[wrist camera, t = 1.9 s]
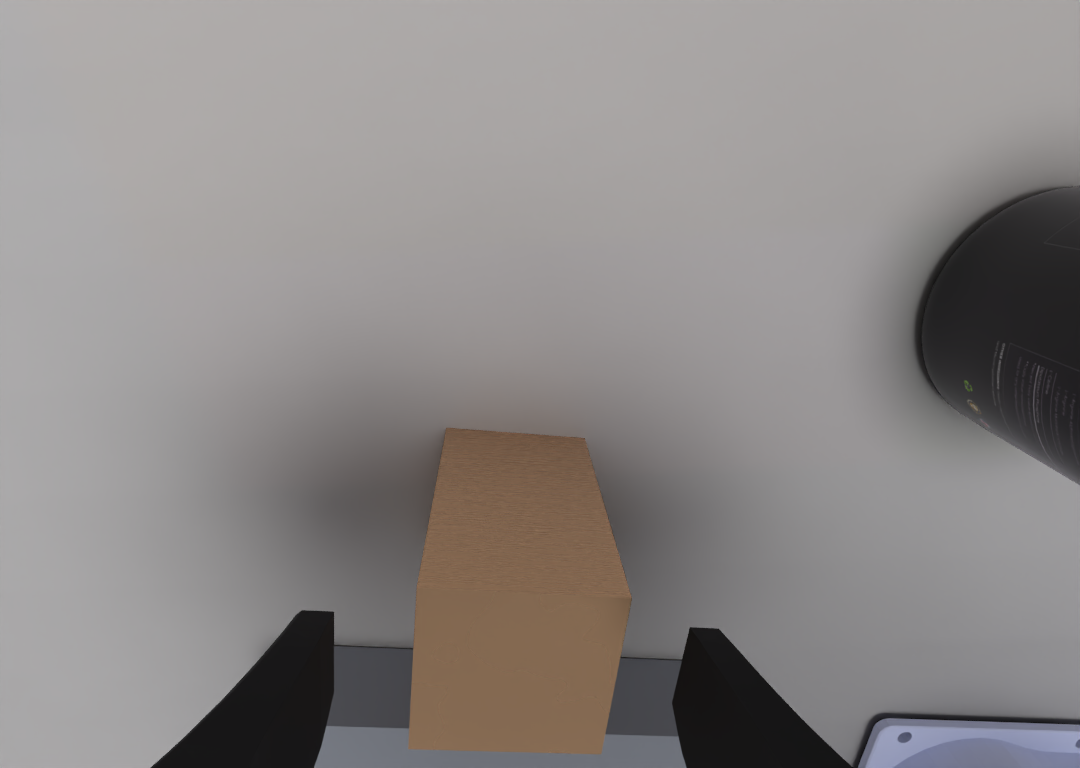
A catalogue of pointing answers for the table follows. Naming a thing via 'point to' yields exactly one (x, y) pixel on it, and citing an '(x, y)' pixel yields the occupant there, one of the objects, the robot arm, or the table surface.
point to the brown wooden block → (516, 600)
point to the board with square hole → (387, 764)
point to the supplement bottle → (1014, 328)
